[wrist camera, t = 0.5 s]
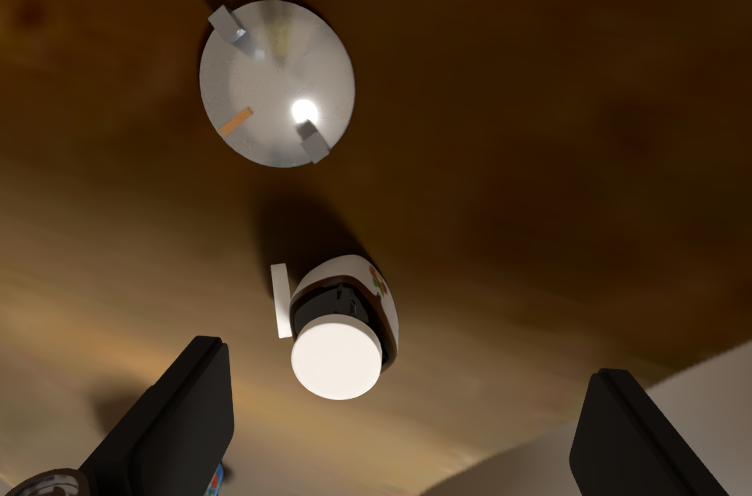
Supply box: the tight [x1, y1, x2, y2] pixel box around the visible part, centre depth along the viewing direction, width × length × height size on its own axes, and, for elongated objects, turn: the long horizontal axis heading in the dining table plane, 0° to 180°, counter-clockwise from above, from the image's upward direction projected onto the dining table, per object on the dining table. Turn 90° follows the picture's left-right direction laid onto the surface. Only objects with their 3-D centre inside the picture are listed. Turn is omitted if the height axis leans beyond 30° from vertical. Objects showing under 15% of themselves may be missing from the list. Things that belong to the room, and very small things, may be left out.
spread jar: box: [271, 255, 398, 400], centre depth 37 cm, size 12×11×12 cm
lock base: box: [200, 0, 356, 167], centre depth 35 cm, size 13×13×3 cm
